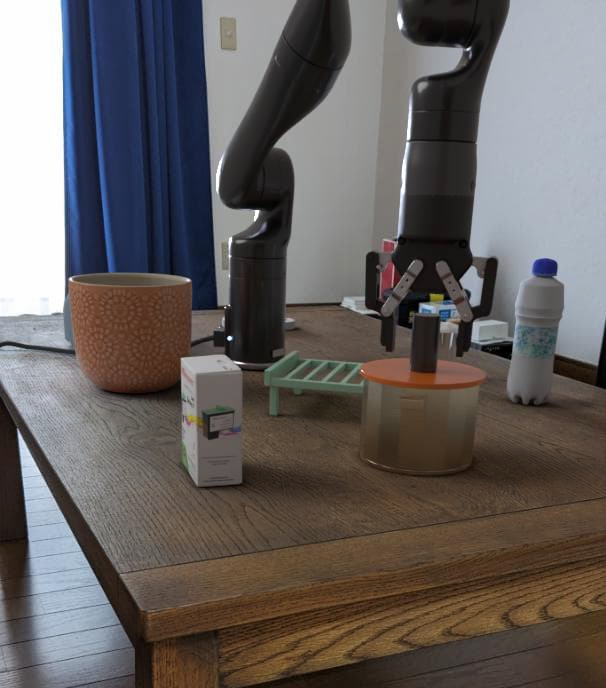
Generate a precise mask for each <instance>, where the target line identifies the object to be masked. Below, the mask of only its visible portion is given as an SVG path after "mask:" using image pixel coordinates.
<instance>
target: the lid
mask: <svg viewBox="0 0 606 688" xmlns="http://www.w3.org/2000/svg"><path fill="white" fill-rule="evenodd" d="M441 322H442V315H441V314H440V313H434V312H414V313H413V315H412V325H411V338H410V339H411V341H410V352H409V357H401V358H399V357H397V358H395V357H394V358H395V359H393V358H384V359H374V360H370V361H368V362H363V363H364V364H363V365H361V367H360V373H359V375H360V376H361V377H362V378H363V379H364V378H366V379H368V380H371V381H374V382H377V383H381V384H385V385H390V386H397V387H404V388H414V389H431V390H449V389H463V388H470V387H475V386H478V385H480V386H481V385H483V384H484V383H486V381H487V373H486V372H485V371H484V370H483V369H481V368H478V367H476V366H474V365H473V366H472V365H471V364H465V363H461V362H456V361H455V362H450V361H443V360H438V349H439V337H440V326H441Z"/></svg>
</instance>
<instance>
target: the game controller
mask: <svg viewBox="0 0 606 688" xmlns="http://www.w3.org/2000/svg"><path fill="white" fill-rule="evenodd" d="M221 319H222V320H221V322H222V323H221V324H222V326H221V327H225V316H223V317H222V318H221ZM294 329H296V319H295V318H290V317H285V331H291V330H294Z"/></svg>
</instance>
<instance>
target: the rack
mask: <svg viewBox="0 0 606 688" xmlns="http://www.w3.org/2000/svg"><path fill="white" fill-rule="evenodd" d="M392 359H395V357H393V358H392ZM364 363H365V362H354V361H341V360H328V359H317V358H303V357H300V351H299V350H293V351H291V352H290V353H288V354H286V355H285V356H284V358H282V359H281V360H279V361H278V362H276V363H275V364H273V365H272V366H271V367H269V368H268V369H266V370H264V377H263V378H264V379H263V380H264V383H263V385H264V386H265V387H269V416H275V417H276V416H278V415H279V412H280V411H279V410H280V409H279V408H280V407H279V405H280V388H289V389H293V394H294V395H300V396H301V394H303V390H312V391H323V392H324V391H325V392H336V393H347V394H359V395H363V382H364V379H362V381H361V382H360V383H352V382H353V381H354V380H355V379H356V378H357V377H358V376H359V375H360V367H361V365H363V364H364ZM309 368H314V369H313V370H312V371H311V372H309V374H307V375H306V376H305V377H303V373H305V371H307V370H308V369H309ZM326 370H332V371H330V372H329V373H328V374H327V375H326V376H325V377H323V378H322V380H316V378H318V377H319V376H320V375H321V374H322V373H323V372H324V371H326ZM344 371H350V372H349V373H348V374H347V375H346V376H345V377H344V378H343V379H342V380H341V381H340V382H336V381H334V380H336V378H338V376H339V375H341V374H342V372H344Z"/></svg>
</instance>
